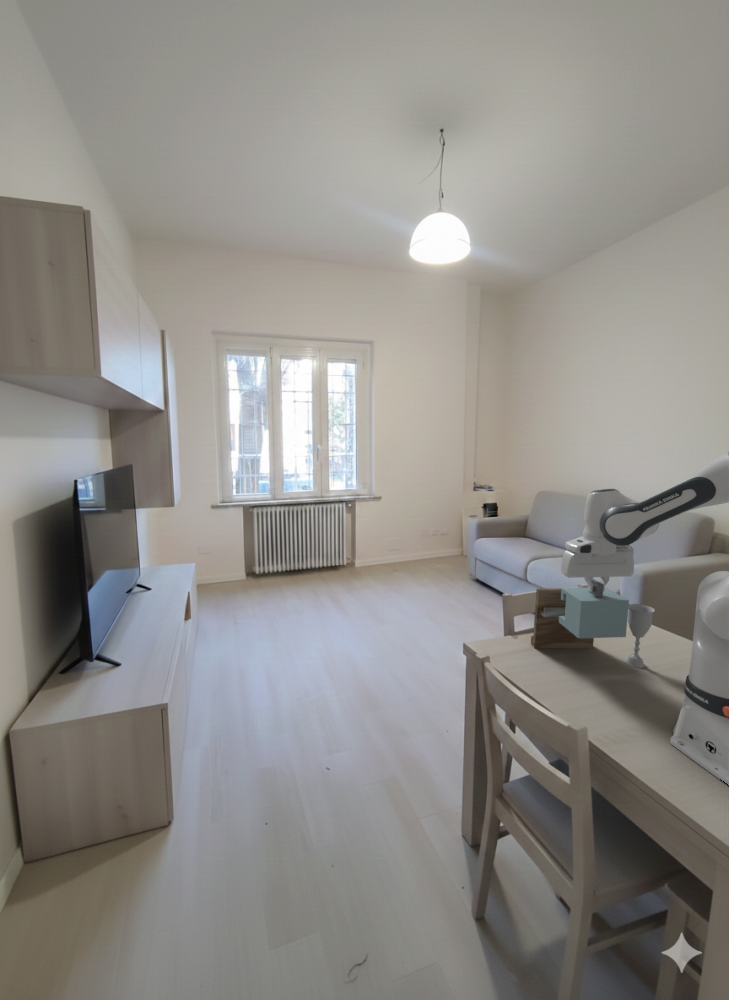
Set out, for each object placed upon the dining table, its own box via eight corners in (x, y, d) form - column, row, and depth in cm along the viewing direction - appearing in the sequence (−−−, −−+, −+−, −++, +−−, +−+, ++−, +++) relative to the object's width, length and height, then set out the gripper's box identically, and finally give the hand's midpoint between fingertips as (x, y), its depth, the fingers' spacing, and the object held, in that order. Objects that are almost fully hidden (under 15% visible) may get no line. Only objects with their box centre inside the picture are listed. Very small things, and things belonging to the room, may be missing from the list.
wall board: (598, 651, 145) (603, 592, 142) (538, 652, 144) (542, 593, 141) (587, 643, 151) (592, 586, 148) (530, 644, 150) (534, 587, 147)
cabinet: (625, 637, 127) (630, 586, 125) (578, 638, 126) (582, 587, 124) (602, 621, 138) (605, 574, 136) (558, 622, 137) (561, 575, 135)
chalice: (641, 658, 141) (647, 604, 138) (653, 669, 134) (659, 612, 131) (617, 657, 141) (622, 603, 139) (628, 668, 135) (633, 611, 132)
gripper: (626, 541, 132) (623, 586, 133) (559, 542, 130) (557, 588, 132) (641, 546, 125) (637, 593, 127) (571, 547, 124) (568, 595, 126)
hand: (595, 591), depth 130 cm, fingers closed on cabinet
